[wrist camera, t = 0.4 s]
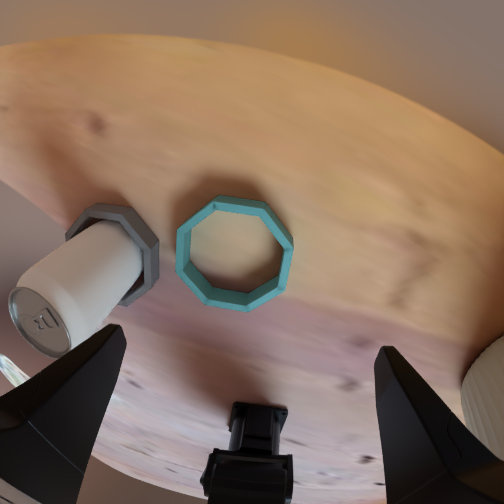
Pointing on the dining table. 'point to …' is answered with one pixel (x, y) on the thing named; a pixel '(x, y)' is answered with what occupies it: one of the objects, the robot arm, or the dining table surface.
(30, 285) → the can
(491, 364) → the canister
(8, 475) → the robot arm
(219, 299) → the socket
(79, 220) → the socket
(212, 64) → the dining table surface
